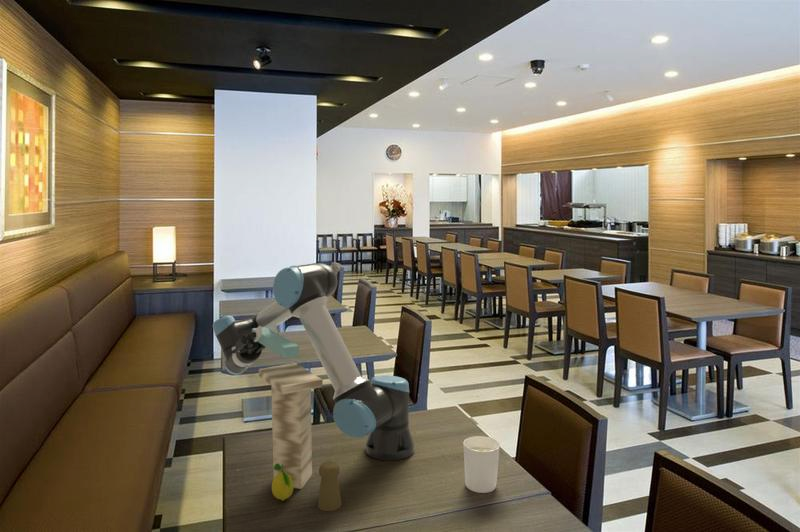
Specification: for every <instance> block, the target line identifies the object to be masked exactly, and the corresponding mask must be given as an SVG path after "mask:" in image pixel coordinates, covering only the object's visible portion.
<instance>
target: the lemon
mask: <svg viewBox="0 0 800 532" xmlns="http://www.w3.org/2000/svg"><path fill="white" fill-rule="evenodd" d="M274 469H275V470H281V469H282V472H281V473H278V474H277V475H276V476H275V477H274V476H273V480H272V483H271V492H272V495H273V496H274V498H276V499H278V500H280V501H282V502H284V501H285V500H287V499H288V498H290V497H291V495H292V494H293V491H294V488H293V480H292V478H291V476H290V475H289V474H288V473H285V472H283V464H282V466H280V465H279V464H278V463H277V464H275V466H274Z"/></svg>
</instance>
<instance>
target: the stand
mask: <svg viewBox="0 0 800 532" xmlns="http://www.w3.org/2000/svg"><path fill="white" fill-rule="evenodd" d="M258 377H260V378H261V379H263V380H264V381H265V382H267V384H269V385H270V386H271V390H270V391H271V424H272V425H271V427H272V465H273V466H272V467H273V474H272V475H273V478H274V477H275V476H276V475H277V474H278V473H281V472H282V469H281V470H275V469H274V466H275V464H277V463H278V464H279V465H280V466H282V464H283V472H285V473H288V474H289V475H290V476H291V478H292V480H293V489H300V490H302V489H303V488H304V486H305V485H306V484H307V483H308V481H309V480H310V479H311V477H312V475H313V454H312V453H313V448H312V447H313V445H312V444H313V442H312V440H313V439H312V391H311V390H313V389H318V388H322V387H323V384H324V383H323V379H322V378H321V377H319V376H318V375H316V374H315V373H313V372H311V371H310V370H308V369H306V368H305V367H303V366H301V364H298V363H296V362H292V363H287V364H281V365H276V366H275V365H274V366H269V367H262V368H258Z"/></svg>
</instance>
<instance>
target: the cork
mask: <svg viewBox="0 0 800 532" xmlns="http://www.w3.org/2000/svg"><path fill="white" fill-rule="evenodd" d="M318 473H319V476H320V477H321V478H320V485H319V494H318V501H317V507H318V509H320V510H321V511H324V512H333V511H334V512H335V511H337V510H339V509H340V508H341V506H342V497H341V490H340V485H339V477H338V476H339V475H340V465H339V464H338V463H337V462H336V461H332V460H331V461H325V462H322V463H321V464H320V465H319V468H318Z"/></svg>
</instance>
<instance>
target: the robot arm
mask: <svg viewBox="0 0 800 532" xmlns="http://www.w3.org/2000/svg"><path fill="white" fill-rule="evenodd" d="M337 288H338V276H337V274H336V272H335V271H334V269H333V268H332V267H331V266H329V265H327V264H326V263H322V262H316V263H315V262H313V263H309V264H299V265H290V266H289V267H284V268H281V270H279V271H278V272H277V273H276V275H275V277H274V280H273V284H272V292H273V298H274V299H275V301H273V302H272V303H271V304H270V305H268V306H267V307H265V308H264V309H262V310H261V311H259V312H258V313H256V314H255V315H253V316H252V317H249V318H243V319H240V320H236V318H234V316H233V315H225V316H222V317H220V318H218V319H216V320H215V321H214V322H213V323H212V329H213V332H214V336H215V337H216V339H217V341H218V343H219V346H220V347H221V350H222V354H223V357H224V359H225V361H224V368H225V370H226V371H227V373H229V374H230V375H234V376H237V375H241V374H243V373H245V372H246V371H248V369H249V367H250V366H251V365H253V363H255V361H257V360H258V359H259V358H260V357H261V355H262V352H263V350H265V349H266V347H265V346H264V345H262V344H260V343H259V342H257V340H258V339H259V338H260V337H261V336H262V335H263V333H262V328H261V327H266V328H267V329H269V330H271V331H273V332H275V333H277V334H278V335H280V334H279V330H278V329H279V328H278V326H280V325H281V324H283V323H284V322H286V321H287V320H289V319H291V318H292V317H295V318H298V319H299V320H300V322H301V324H302V326H303V328H304V330H305V333H306V335H307V336H308V339H309V341H310V342H311V345H312V346H313V349H314V350H315V352H316V355H317V357H318V359H319V360H320V363H321V366H322V367H323V369H324V371H325V373H326V375H327V377H328V379H329V381H330V384H331V386H332V388H333V389H334V395H333V397H332V399H333V401H334V403H335V405H334V406H333V410H332V412H333V414H332V418H333V421H334V423H335V426H336V427H337V428H338V430H339V431H340V432H341V433H343V434H344V435H345V436H347V437H350V438H353V439H359V438H360V439H361V438H363V437H364V436H367V437H366V441H365V452H366V454H367V455H368V456H369V457H371V458H374V459H375V460H379V461H391V462H392V461H400V460H403V459H406V458H409V457H410V456H412V455H413V454H414V453H415V441H414V438H413V435H412V432H411V428H410V387H409V382H408V380H407V379H406V378H403V377H400V376H396V375H387V374H386V375H376V376H373V377H371V380H370V379H368V378H365V377H363V376H362V375H361V372H360V371H359V369H358V366H357V365H356V363H355V361H354V359H353V357H352V355H351V353H350V351H349V349H348V347H347V346H346V344H345V341H344V339H343V337H342V335H341V333H340V332H339V329H338V328H337V326H336V323H335V322H334V319H333V318H332V316H331V314H330V311H329V309H328V308H327V302H328V298H330V297H331V296H332V295H333V294H334V293H335V292H336V290H337ZM253 328H257V329H256V330H255V331H254V332H252V329H253Z"/></svg>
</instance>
